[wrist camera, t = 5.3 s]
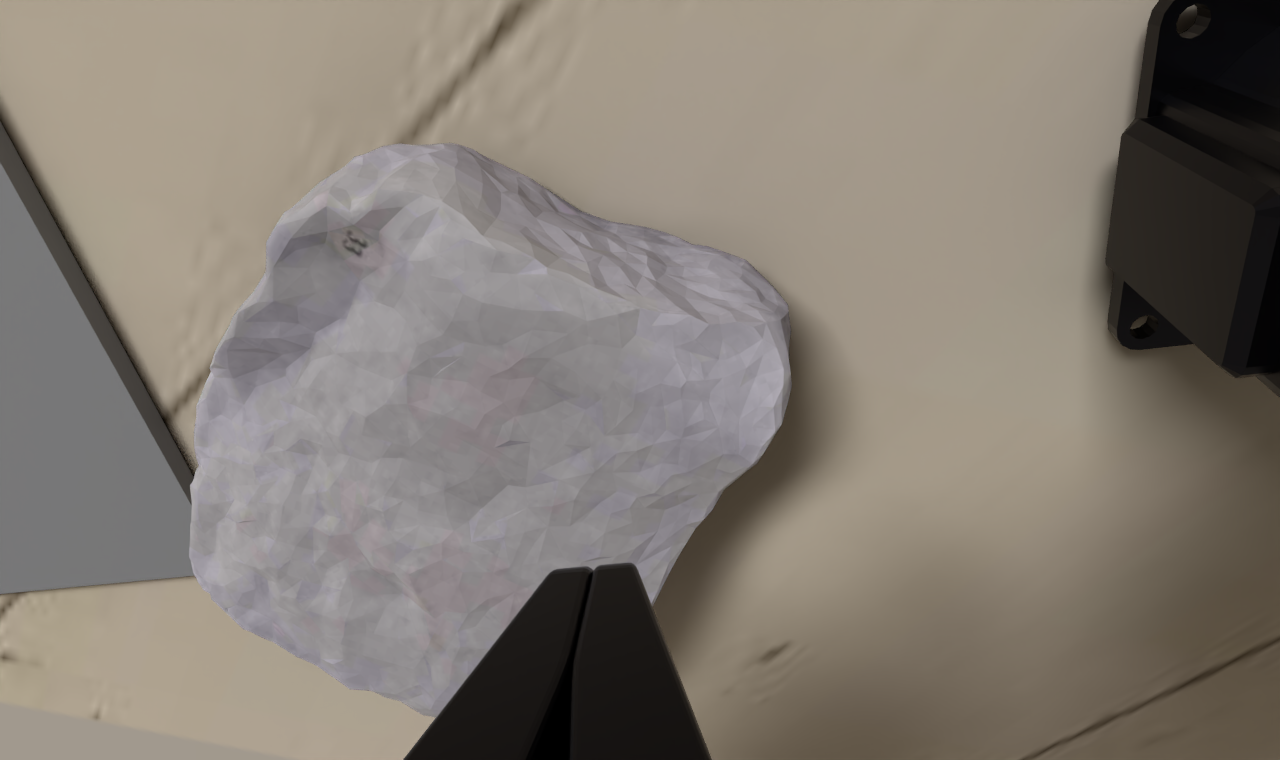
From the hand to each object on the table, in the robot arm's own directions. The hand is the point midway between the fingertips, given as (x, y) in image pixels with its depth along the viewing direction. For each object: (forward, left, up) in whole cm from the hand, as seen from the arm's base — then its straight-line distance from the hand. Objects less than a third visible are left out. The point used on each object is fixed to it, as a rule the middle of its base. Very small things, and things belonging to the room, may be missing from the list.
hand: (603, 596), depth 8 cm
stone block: (+8, 0, -9) cm, 12 cm away
